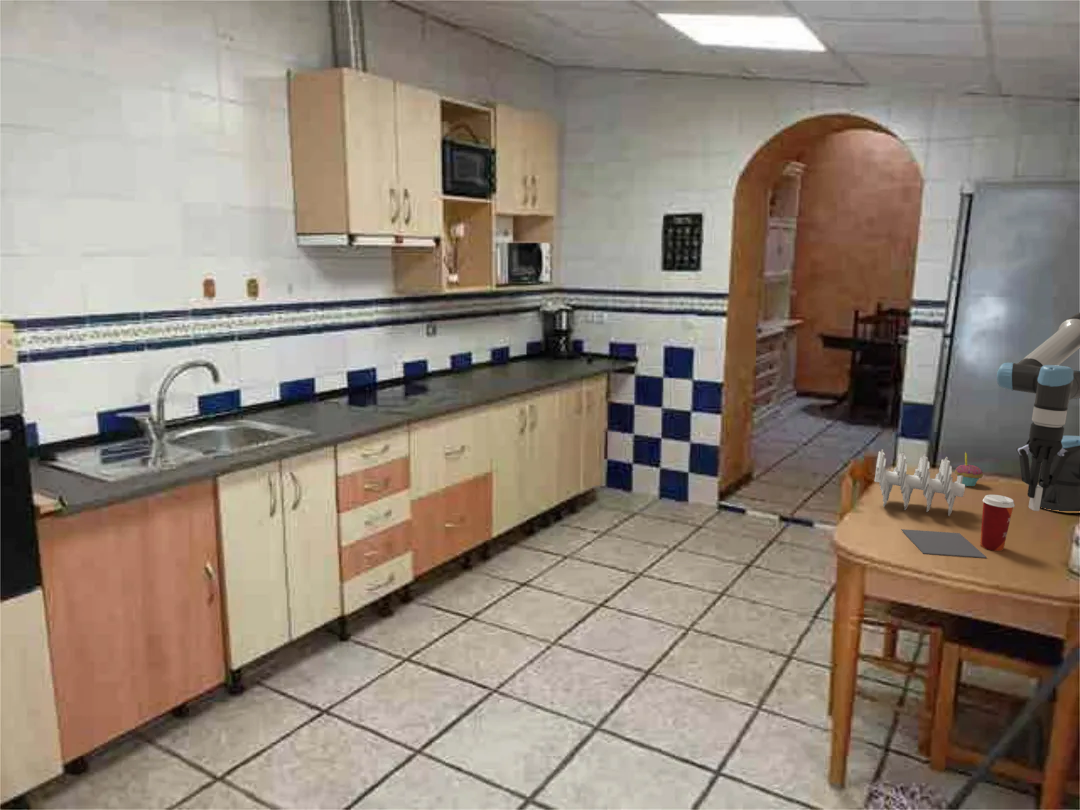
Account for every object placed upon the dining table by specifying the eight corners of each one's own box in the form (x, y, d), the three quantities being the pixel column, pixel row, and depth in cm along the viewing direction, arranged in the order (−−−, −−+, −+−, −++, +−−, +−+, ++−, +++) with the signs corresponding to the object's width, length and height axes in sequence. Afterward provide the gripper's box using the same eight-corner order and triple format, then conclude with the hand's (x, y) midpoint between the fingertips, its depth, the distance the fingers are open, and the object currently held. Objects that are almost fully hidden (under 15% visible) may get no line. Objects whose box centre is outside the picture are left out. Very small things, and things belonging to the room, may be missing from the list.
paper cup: (1013, 552, 215) (1021, 503, 212) (984, 551, 215) (992, 502, 212) (997, 542, 223) (1005, 494, 220) (970, 541, 223) (977, 493, 220)
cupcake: (958, 487, 274) (962, 453, 272) (949, 480, 282) (954, 447, 280) (984, 489, 273) (990, 455, 270) (975, 482, 281) (980, 449, 279)
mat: (959, 534, 228) (959, 533, 228) (986, 558, 211) (986, 557, 211) (900, 530, 230) (901, 529, 230) (923, 553, 212) (923, 552, 212)
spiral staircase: (957, 532, 242) (868, 515, 251) (957, 493, 255) (873, 478, 264) (970, 487, 231) (878, 471, 240) (970, 449, 244) (882, 435, 253)
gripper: (1066, 422, 214) (1051, 506, 219) (1015, 419, 215) (1002, 503, 220) (1081, 428, 207) (1066, 515, 211) (1028, 425, 208) (1015, 512, 213)
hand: (1033, 509), depth 216 cm, fingers closed
